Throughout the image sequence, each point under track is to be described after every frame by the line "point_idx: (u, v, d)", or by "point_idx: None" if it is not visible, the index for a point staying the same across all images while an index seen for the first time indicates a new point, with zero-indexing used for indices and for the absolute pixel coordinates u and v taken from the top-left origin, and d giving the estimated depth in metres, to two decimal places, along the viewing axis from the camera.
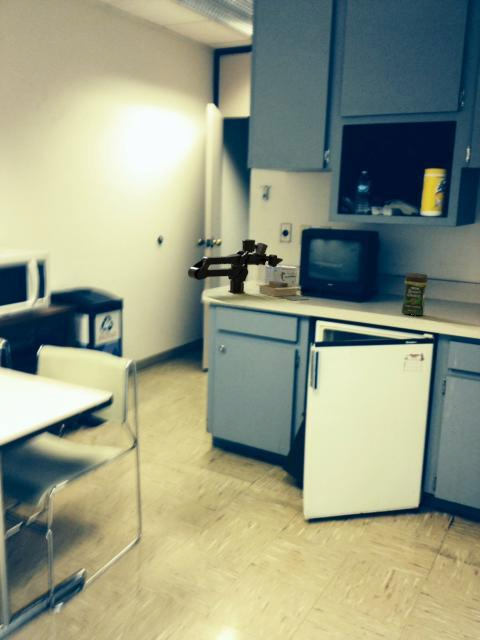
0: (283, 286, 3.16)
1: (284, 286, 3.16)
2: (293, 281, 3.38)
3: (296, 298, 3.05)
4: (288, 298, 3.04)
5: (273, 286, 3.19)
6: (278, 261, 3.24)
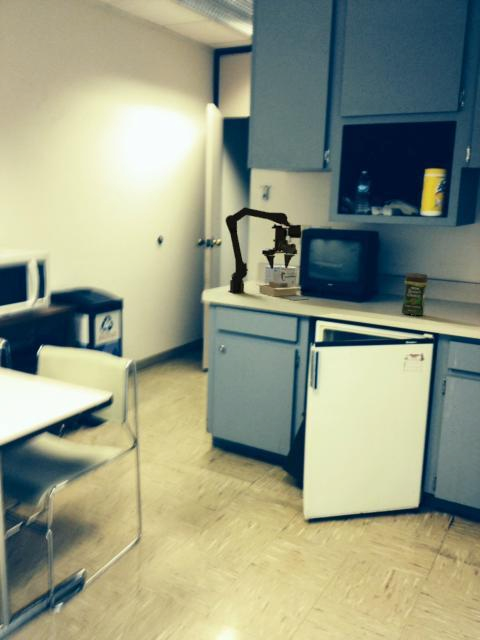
0: (283, 286, 3.16)
1: (284, 286, 3.16)
2: (293, 281, 3.38)
3: (296, 298, 3.05)
4: (288, 298, 3.04)
5: (273, 286, 3.19)
6: (269, 261, 3.15)
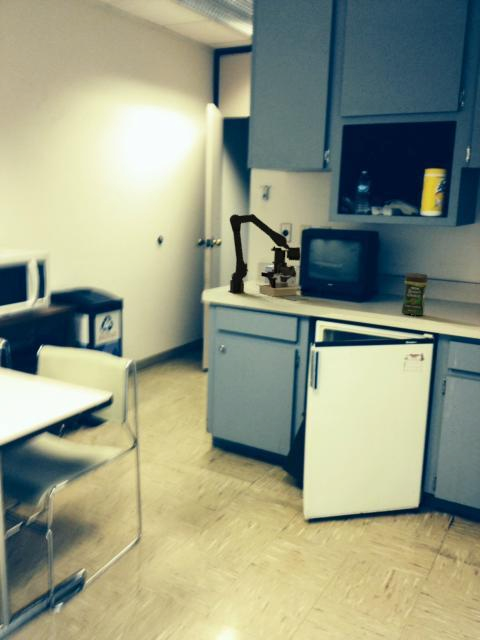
0: (283, 286, 3.16)
1: (284, 286, 3.16)
2: (293, 281, 3.38)
3: (296, 298, 3.05)
4: (288, 298, 3.04)
5: None
6: (271, 283, 3.18)
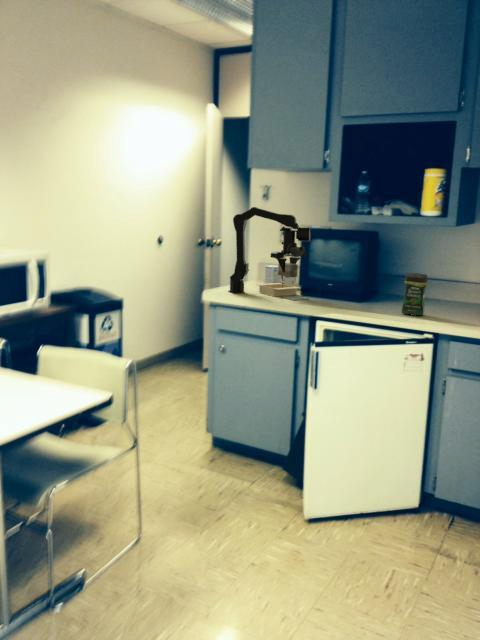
0: (293, 267, 3.08)
1: (294, 268, 3.08)
2: (293, 281, 3.38)
3: (296, 298, 3.05)
4: (288, 298, 3.04)
5: None
6: (281, 264, 3.10)
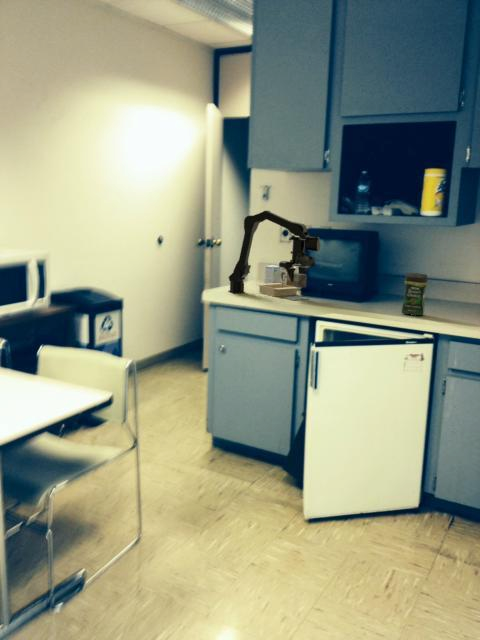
0: (302, 278, 3.02)
1: (303, 278, 3.02)
2: None
3: (296, 298, 3.05)
4: (288, 298, 3.04)
5: None
6: (289, 274, 3.04)
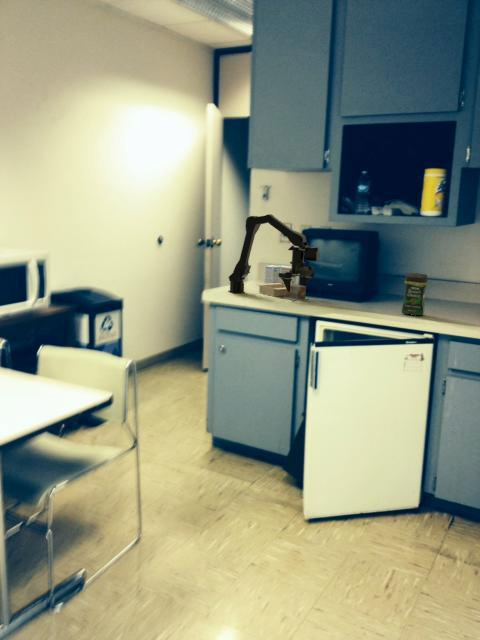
0: (301, 290, 3.03)
1: (302, 290, 3.03)
2: (293, 281, 3.38)
3: None
4: (288, 298, 3.04)
5: (290, 290, 3.06)
6: (286, 284, 3.03)
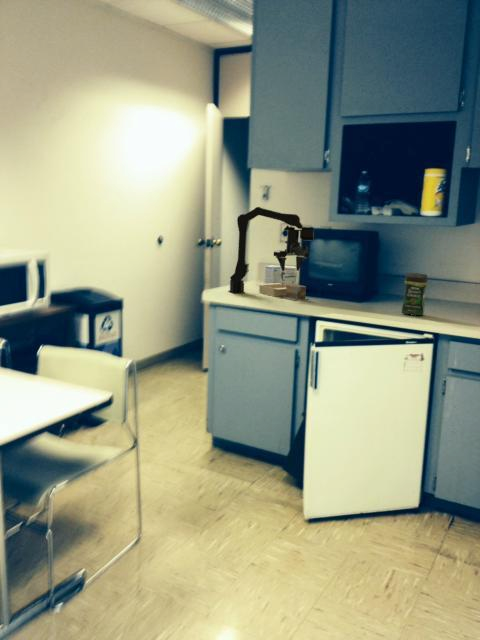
0: (301, 290, 3.03)
1: (302, 290, 3.03)
2: (293, 281, 3.38)
3: None
4: (288, 298, 3.04)
5: (290, 290, 3.06)
6: (281, 263, 3.10)
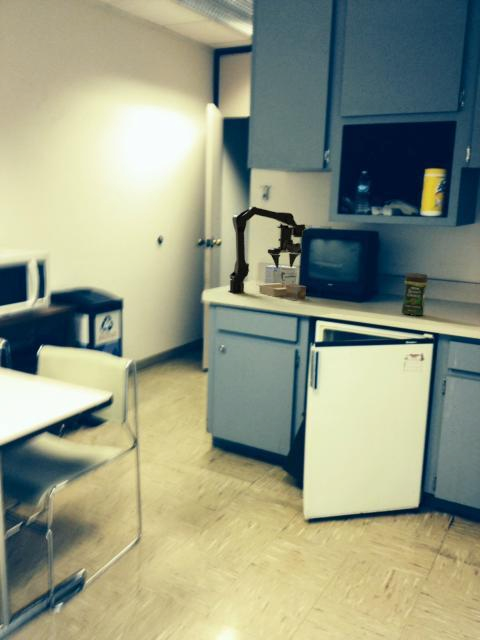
0: (301, 290, 3.03)
1: (302, 290, 3.03)
2: (293, 281, 3.38)
3: None
4: (288, 298, 3.04)
5: (290, 290, 3.06)
6: (275, 260, 3.21)
